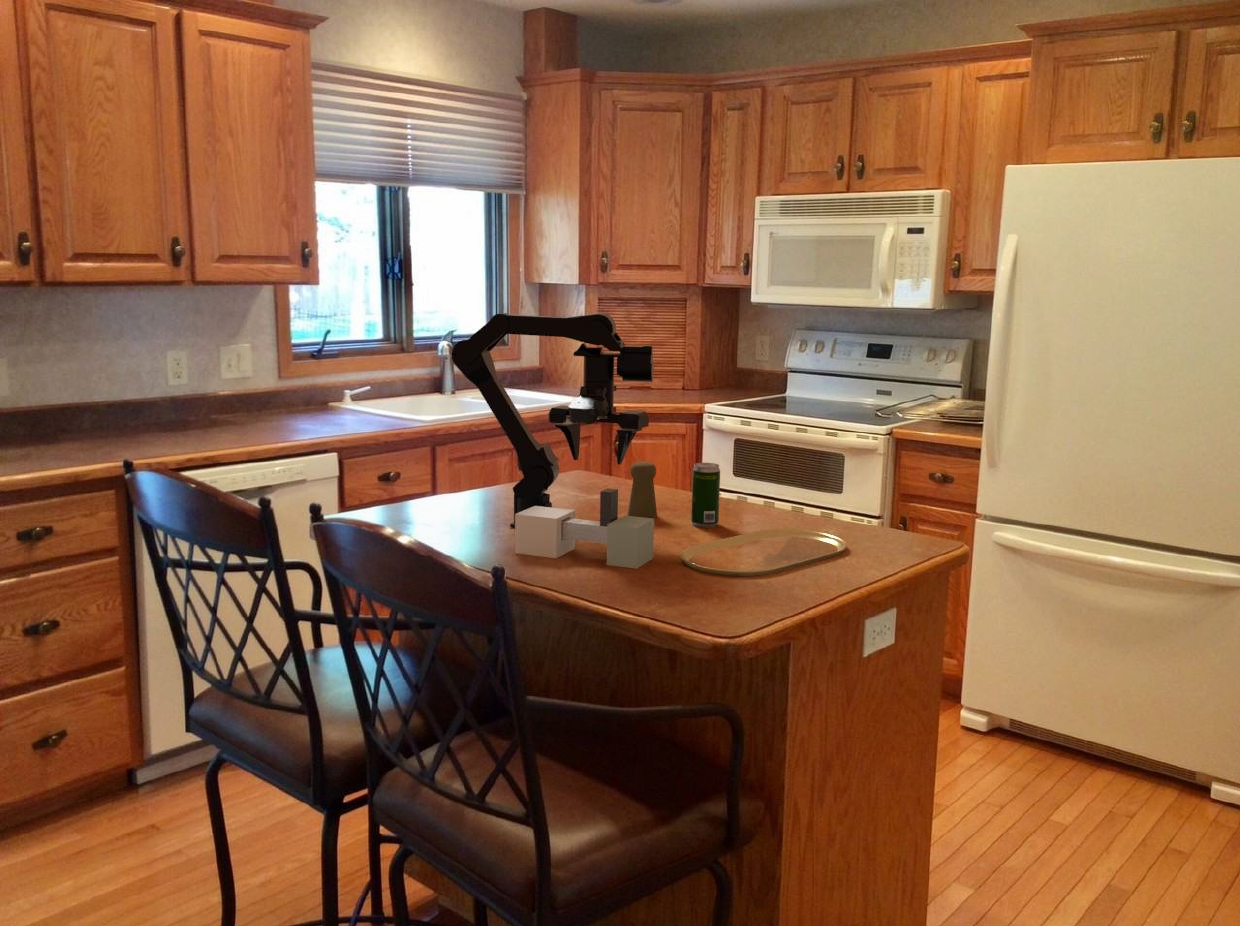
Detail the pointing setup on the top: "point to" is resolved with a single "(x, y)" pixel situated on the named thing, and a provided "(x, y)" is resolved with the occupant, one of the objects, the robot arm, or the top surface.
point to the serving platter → (757, 535)
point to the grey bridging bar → (593, 529)
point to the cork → (643, 491)
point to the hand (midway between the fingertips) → (597, 462)
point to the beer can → (705, 495)
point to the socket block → (630, 541)
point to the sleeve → (542, 532)
